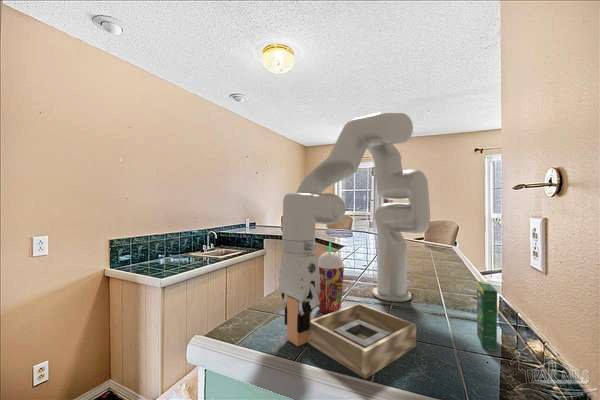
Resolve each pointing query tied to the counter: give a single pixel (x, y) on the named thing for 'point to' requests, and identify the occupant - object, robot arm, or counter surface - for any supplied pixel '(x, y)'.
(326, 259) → the smoothie
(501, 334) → the counter surface
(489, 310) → the coffee box
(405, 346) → the walled tray
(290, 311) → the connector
